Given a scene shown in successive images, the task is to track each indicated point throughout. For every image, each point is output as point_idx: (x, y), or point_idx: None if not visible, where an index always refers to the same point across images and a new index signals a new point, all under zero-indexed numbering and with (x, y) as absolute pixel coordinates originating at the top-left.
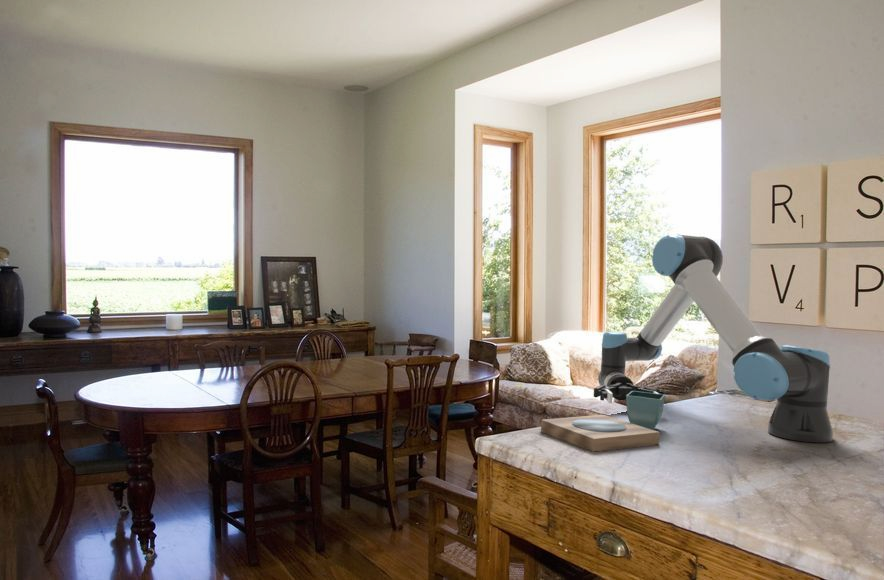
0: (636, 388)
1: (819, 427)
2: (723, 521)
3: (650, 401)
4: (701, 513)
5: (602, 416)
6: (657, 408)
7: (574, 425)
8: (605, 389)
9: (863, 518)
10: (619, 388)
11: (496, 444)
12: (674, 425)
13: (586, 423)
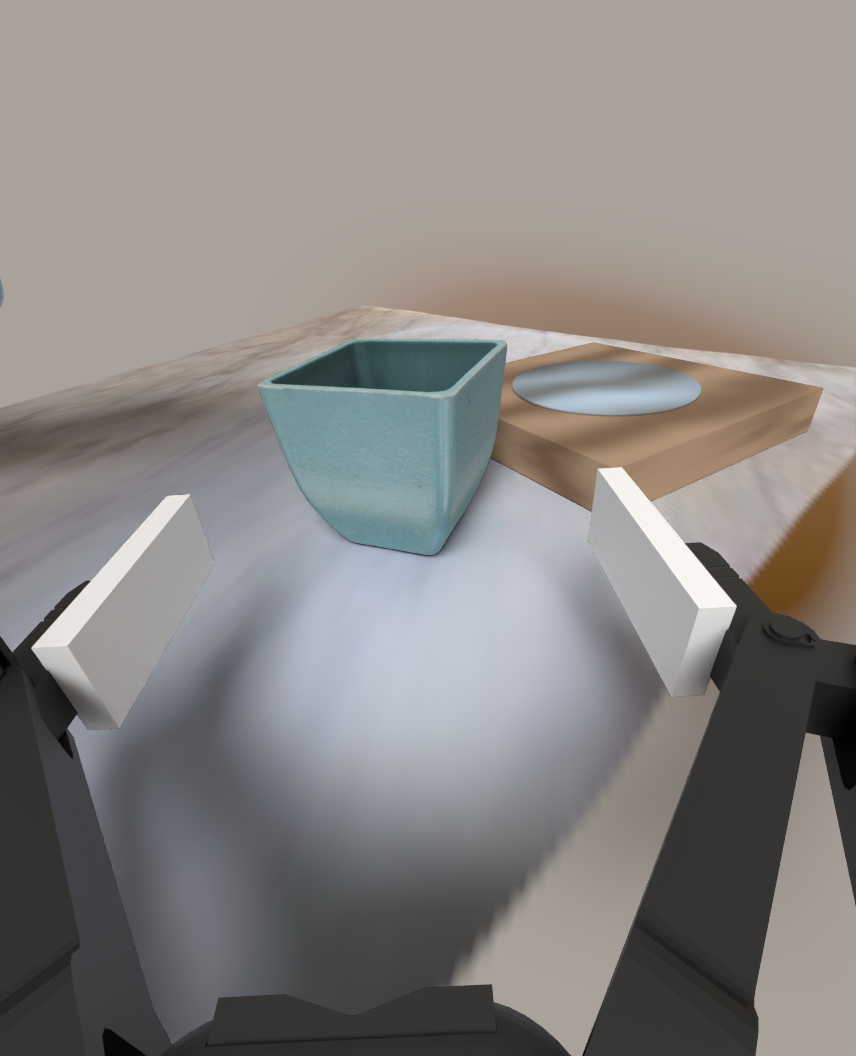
0: (95, 989)
1: None
2: (436, 315)
3: (396, 354)
4: (451, 318)
5: (612, 448)
6: (369, 383)
7: (676, 371)
8: (726, 594)
9: (278, 331)
10: (524, 1017)
11: (827, 366)
12: (195, 606)
13: (646, 383)
